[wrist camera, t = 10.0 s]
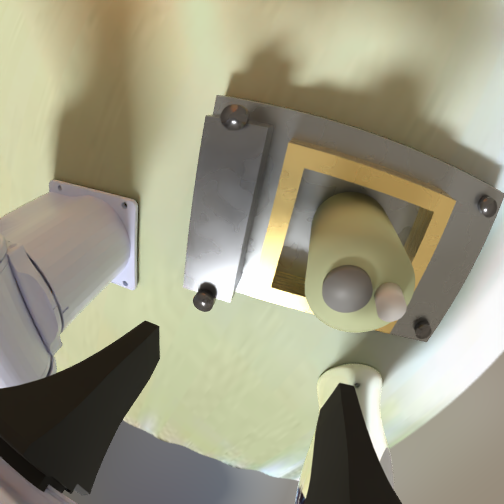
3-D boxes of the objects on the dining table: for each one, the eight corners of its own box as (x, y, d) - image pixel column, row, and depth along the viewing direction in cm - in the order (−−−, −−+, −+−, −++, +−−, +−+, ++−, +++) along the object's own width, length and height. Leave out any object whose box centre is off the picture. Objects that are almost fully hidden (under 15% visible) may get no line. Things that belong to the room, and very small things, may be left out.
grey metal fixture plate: (197, 266, 22) (171, 303, 18) (224, 95, 16) (194, 93, 12) (422, 329, 20) (435, 372, 16) (494, 187, 14) (530, 212, 10)
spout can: (304, 257, 18) (292, 337, 12) (319, 183, 16) (317, 236, 10) (376, 272, 18) (394, 354, 11) (398, 202, 15) (439, 263, 9)
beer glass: (379, 350, 22) (387, 531, 9) (391, 395, 24) (395, 541, 11) (300, 369, 25) (269, 535, 12) (324, 410, 27) (305, 547, 14)
